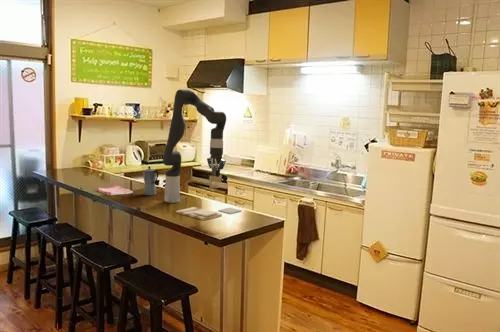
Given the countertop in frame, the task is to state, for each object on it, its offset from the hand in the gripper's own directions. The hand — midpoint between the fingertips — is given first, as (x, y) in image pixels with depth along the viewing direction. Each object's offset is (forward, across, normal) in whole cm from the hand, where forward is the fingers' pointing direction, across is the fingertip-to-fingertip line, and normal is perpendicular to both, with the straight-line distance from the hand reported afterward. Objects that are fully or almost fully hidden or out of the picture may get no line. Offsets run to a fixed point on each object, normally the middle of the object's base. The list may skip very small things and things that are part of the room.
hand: (215, 176), depth 243 cm
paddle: (+7, 0, 0) cm, 7 cm away
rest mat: (+23, 0, +13) cm, 26 cm away
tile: (+21, -1, -6) cm, 22 cm away
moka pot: (+23, -71, +6) cm, 75 cm away
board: (+23, -7, -6) cm, 25 cm away
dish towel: (+24, -94, -8) cm, 97 cm away
